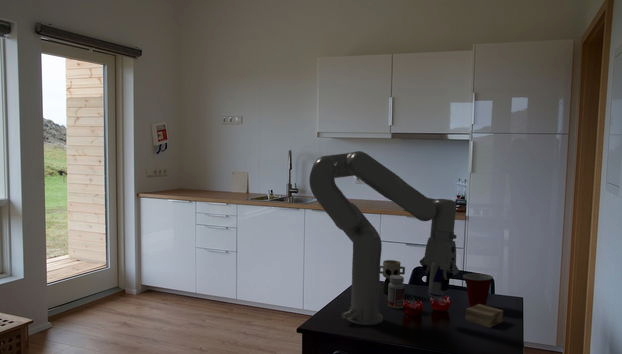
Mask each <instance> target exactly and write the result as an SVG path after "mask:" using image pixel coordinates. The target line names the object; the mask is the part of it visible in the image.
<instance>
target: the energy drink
mask: <svg viewBox="0 0 622 354" xmlns="http://www.w3.org/2000/svg"><path fill="white" fill-rule="evenodd" d="M442 279H444V276H443V270H441V269H440V266H439V264H438V263H436V262H433V263H432V264H431V269H430V280H429V286H428V290H427V291H428V292H427V295H428V296H429V297H431V298H434V299H444V298H445V292H446V291H442V290H441V286H442Z"/></svg>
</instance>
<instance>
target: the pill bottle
mask: <svg viewBox="0 0 622 354" xmlns="http://www.w3.org/2000/svg"><path fill="white" fill-rule="evenodd" d="M404 279H405V277H404V276H403V275H401V274H400V275H391V276H390V283H389V285H388V293H387V306H388V307H389V308H391V309H395V310H396V309H403V308H404V307H403V300H404V301H405V294H406V293H405V292H406V286H405V284H404Z"/></svg>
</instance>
